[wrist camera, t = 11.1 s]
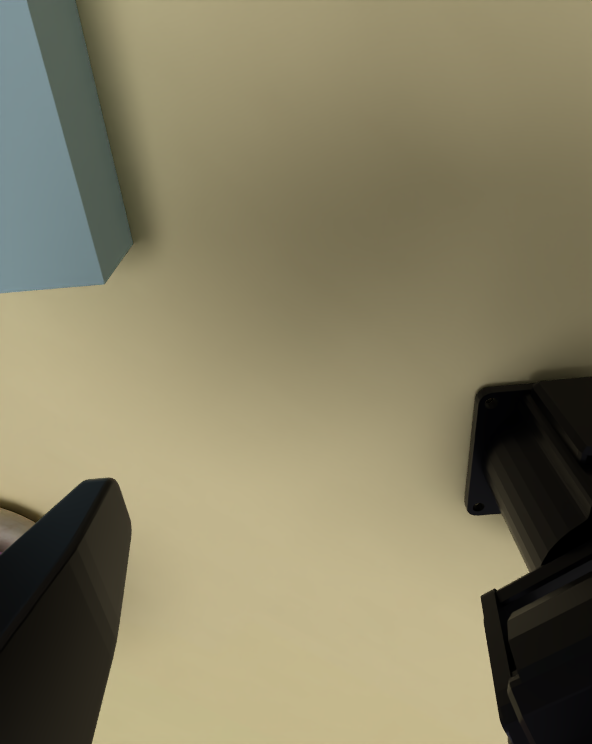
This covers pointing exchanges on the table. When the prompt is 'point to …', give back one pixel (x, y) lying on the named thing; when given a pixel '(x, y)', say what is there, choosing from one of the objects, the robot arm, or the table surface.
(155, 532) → the table surface
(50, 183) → the teal base box
